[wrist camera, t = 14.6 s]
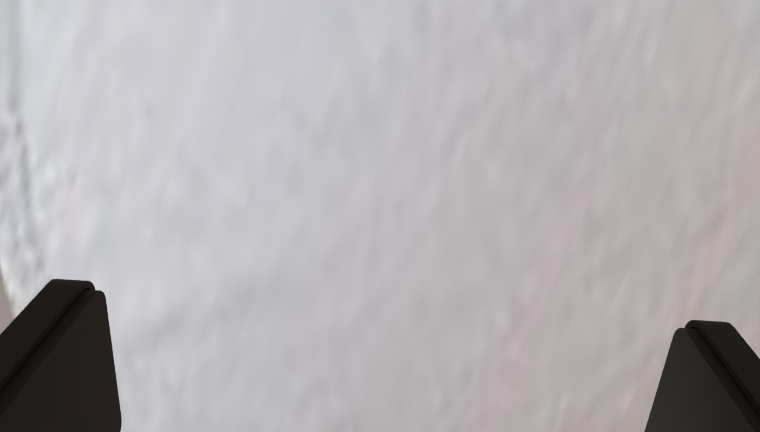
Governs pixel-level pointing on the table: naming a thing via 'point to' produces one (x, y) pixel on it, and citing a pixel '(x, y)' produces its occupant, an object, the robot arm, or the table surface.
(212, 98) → the table surface
